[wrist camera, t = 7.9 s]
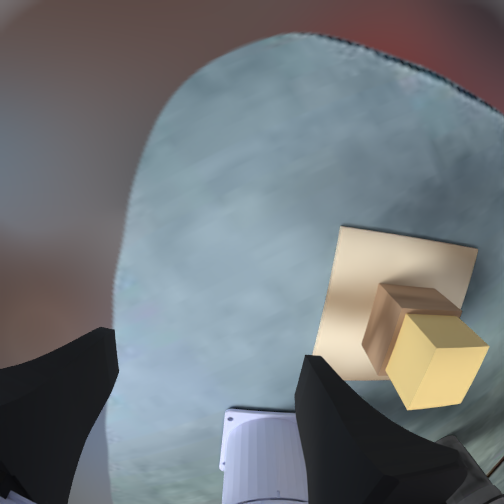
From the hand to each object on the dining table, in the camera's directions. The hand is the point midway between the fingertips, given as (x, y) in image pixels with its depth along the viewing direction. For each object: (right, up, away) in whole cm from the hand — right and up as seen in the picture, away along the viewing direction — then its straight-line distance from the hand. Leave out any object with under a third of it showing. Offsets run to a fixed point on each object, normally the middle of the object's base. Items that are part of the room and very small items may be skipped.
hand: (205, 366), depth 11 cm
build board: (+13, -1, +11) cm, 17 cm away
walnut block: (+13, -1, +11) cm, 17 cm away
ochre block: (+13, -2, +7) cm, 14 cm away
